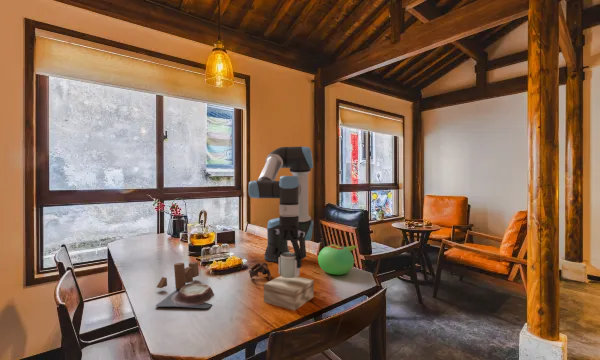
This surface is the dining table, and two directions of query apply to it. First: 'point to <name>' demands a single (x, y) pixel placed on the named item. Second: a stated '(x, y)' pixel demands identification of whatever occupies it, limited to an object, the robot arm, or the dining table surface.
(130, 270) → the dining table surface
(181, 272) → the wooden block set
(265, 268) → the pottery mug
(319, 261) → the round green toy
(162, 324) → the dining table surface
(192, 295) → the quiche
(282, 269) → the celadon tea cup
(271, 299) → the beech tea box
